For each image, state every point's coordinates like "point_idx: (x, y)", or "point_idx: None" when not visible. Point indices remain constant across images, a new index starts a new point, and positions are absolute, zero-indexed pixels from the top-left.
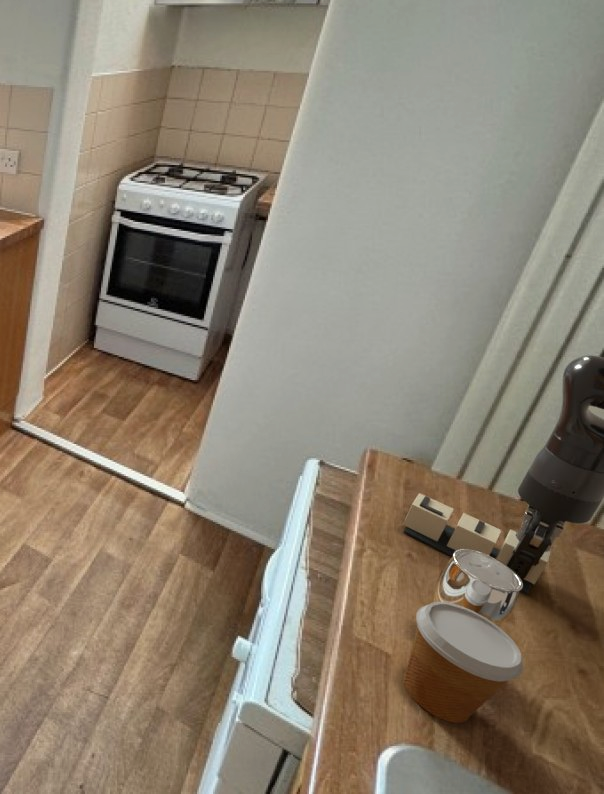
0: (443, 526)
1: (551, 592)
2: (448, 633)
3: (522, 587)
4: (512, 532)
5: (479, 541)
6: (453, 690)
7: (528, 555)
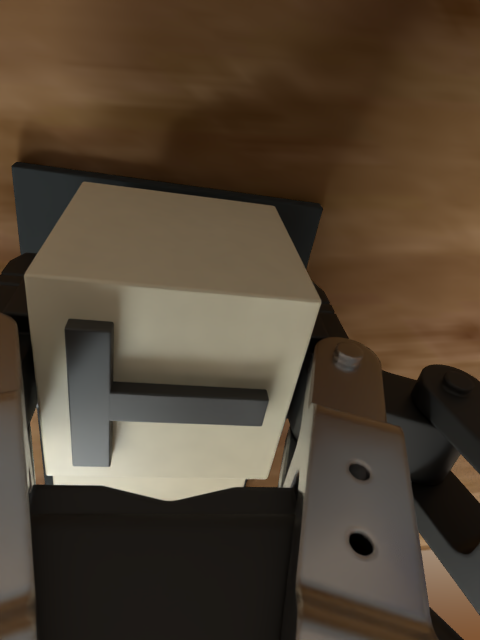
0: None
1: (192, 94)
2: None
3: (294, 230)
4: (78, 466)
5: None
6: None
7: (453, 453)
